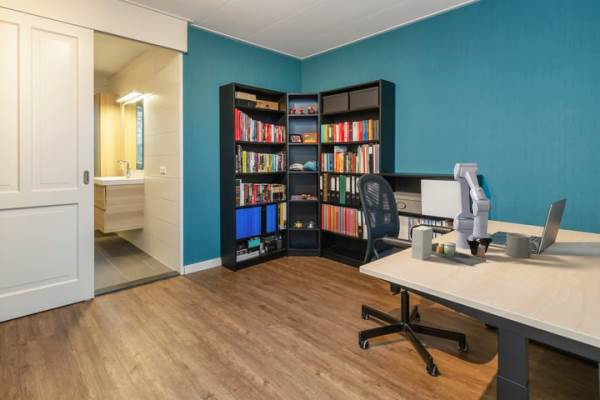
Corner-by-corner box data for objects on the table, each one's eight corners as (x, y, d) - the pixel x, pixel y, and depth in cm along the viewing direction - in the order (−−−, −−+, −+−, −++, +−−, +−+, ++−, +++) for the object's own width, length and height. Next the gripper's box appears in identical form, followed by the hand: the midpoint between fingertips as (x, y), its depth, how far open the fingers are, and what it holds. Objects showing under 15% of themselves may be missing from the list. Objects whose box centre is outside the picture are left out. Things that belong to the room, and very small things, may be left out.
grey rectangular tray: (437, 249, 171) (437, 242, 170) (486, 263, 148) (487, 255, 148) (421, 252, 165) (421, 245, 164) (469, 267, 142) (470, 259, 142)
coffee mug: (500, 253, 162) (501, 233, 161) (514, 251, 166) (515, 232, 165) (528, 261, 150) (530, 240, 149) (542, 258, 154) (544, 237, 153)
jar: (476, 255, 160) (477, 243, 159) (487, 258, 156) (487, 245, 155) (469, 256, 158) (470, 245, 157) (480, 259, 153) (481, 247, 152)
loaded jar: (448, 253, 161) (448, 241, 160) (457, 256, 157) (458, 244, 156) (441, 254, 159) (441, 243, 158) (450, 257, 154) (451, 245, 153)
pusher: (447, 252, 163) (448, 242, 163) (449, 252, 162) (450, 243, 162) (436, 254, 159) (436, 244, 159) (438, 255, 158) (438, 245, 158)
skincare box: (420, 255, 160) (421, 225, 158) (432, 258, 155) (433, 227, 153) (410, 259, 154) (411, 227, 153) (422, 262, 150) (423, 229, 148)
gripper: (479, 228, 148) (477, 258, 149) (498, 225, 155) (496, 253, 156) (464, 225, 154) (463, 254, 155) (483, 222, 161) (481, 250, 162)
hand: (478, 253), depth 156 cm, fingers open, 7 cm apart
